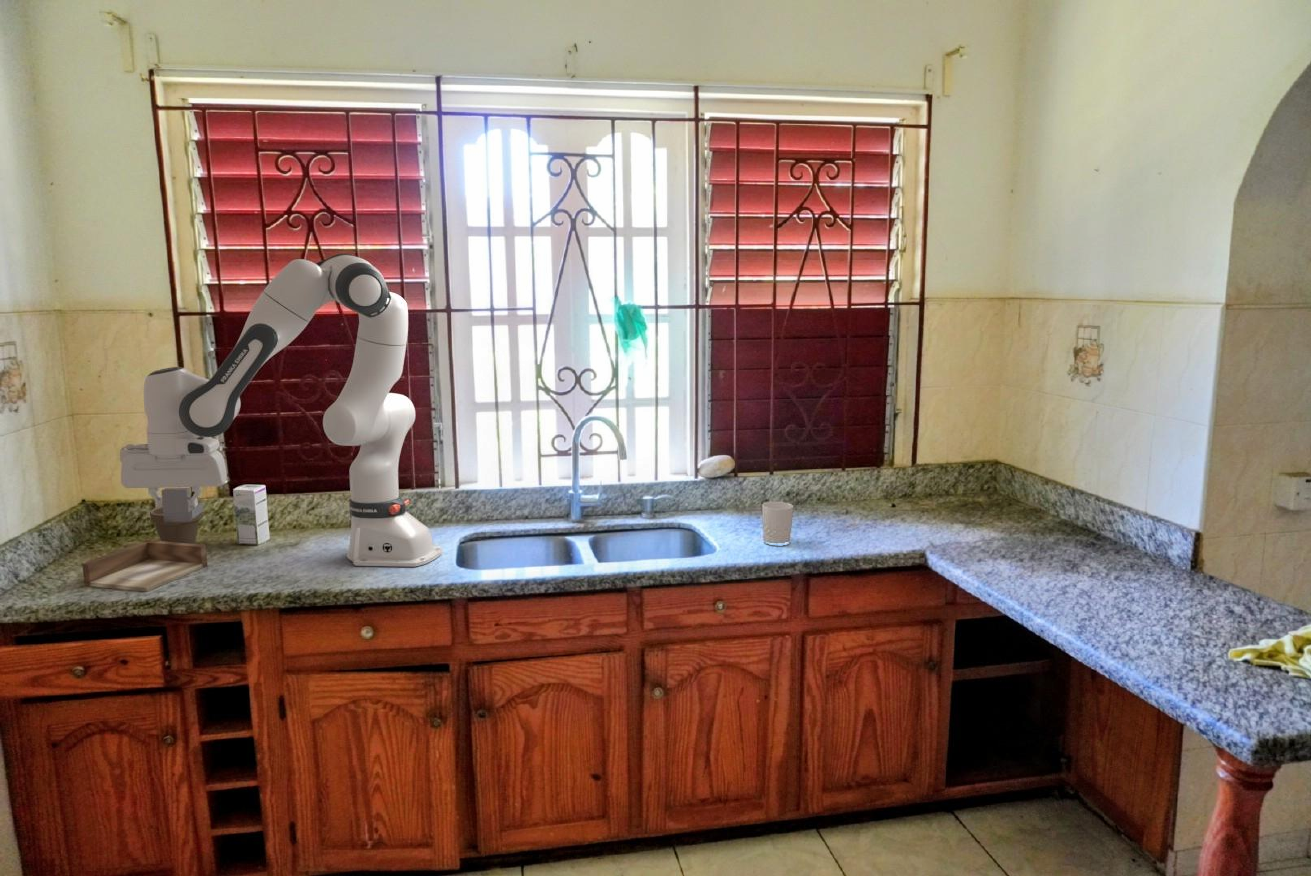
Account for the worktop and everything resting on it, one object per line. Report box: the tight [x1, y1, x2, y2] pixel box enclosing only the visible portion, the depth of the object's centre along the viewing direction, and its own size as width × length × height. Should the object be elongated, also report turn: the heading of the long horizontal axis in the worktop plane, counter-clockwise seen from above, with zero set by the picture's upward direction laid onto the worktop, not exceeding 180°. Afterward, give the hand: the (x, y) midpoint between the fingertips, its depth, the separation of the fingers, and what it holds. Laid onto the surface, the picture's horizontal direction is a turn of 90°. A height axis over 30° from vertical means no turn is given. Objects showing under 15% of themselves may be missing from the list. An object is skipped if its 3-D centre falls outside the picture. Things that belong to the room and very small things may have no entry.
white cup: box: [761, 501, 794, 543], centre depth 222 cm, size 8×8×10 cm
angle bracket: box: [160, 487, 205, 522], centre depth 190 cm, size 9×5×7 cm, turn 9°
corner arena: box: [81, 539, 208, 593], centre depth 195 cm, size 16×18×5 cm
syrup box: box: [232, 484, 270, 546], centre depth 220 cm, size 6×6×14 cm
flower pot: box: [149, 507, 204, 544], centre depth 214 cm, size 12×11×10 cm
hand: (177, 506), depth 187 cm, fingers closed on angle bracket, 5 cm apart
